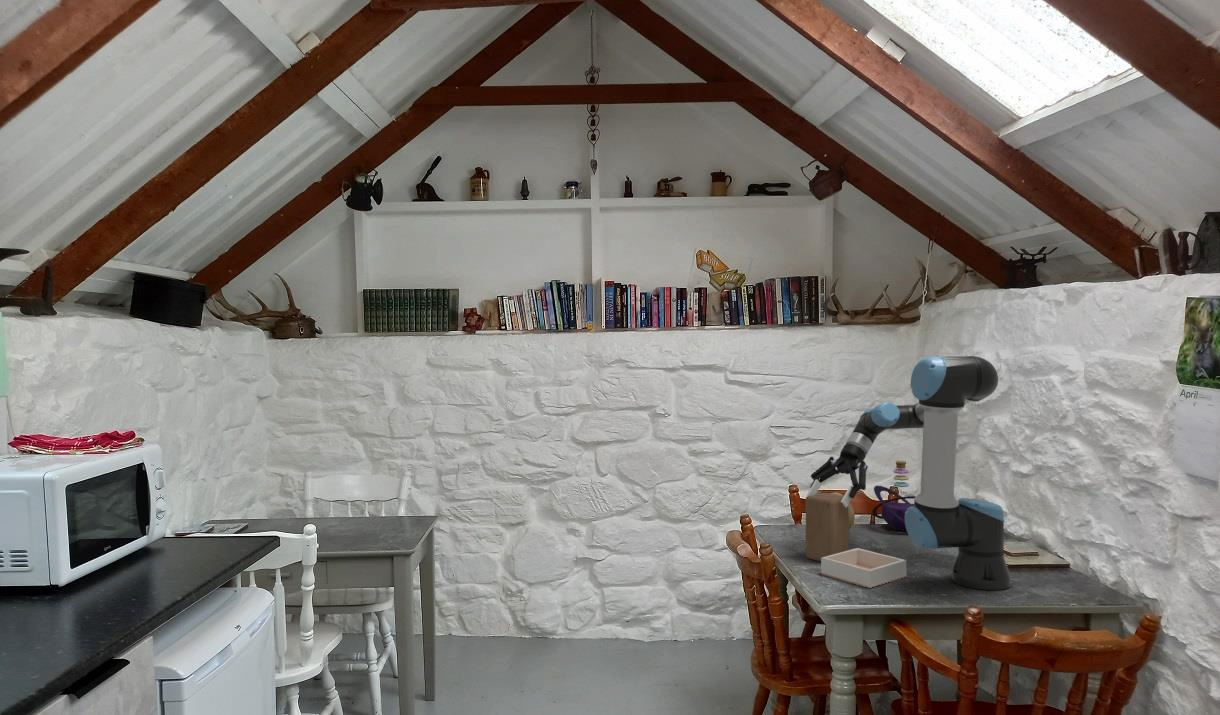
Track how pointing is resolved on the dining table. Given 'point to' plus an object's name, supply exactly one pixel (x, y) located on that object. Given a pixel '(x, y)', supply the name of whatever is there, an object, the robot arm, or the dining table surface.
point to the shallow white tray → (863, 567)
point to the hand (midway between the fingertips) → (826, 501)
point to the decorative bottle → (894, 510)
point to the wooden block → (826, 526)
